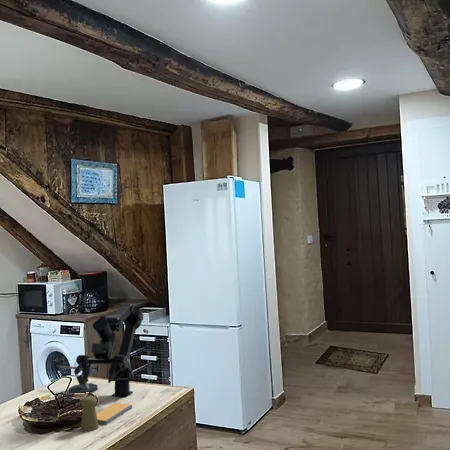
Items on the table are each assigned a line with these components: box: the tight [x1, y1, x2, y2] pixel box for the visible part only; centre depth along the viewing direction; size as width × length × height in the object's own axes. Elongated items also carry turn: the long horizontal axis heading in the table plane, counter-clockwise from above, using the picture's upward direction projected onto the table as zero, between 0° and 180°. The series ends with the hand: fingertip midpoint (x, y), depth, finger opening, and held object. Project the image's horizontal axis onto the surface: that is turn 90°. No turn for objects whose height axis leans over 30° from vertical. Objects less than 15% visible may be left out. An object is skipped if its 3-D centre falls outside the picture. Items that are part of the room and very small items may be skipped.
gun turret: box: [58, 364, 99, 394], centre depth 225 cm, size 13×20×13 cm, turn 71°
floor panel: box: [96, 402, 133, 426], centre depth 194 cm, size 17×8×1 cm, turn 158°
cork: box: [80, 395, 99, 433], centre depth 181 cm, size 6×6×11 cm
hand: (96, 382), depth 189 cm, fingers open, 9 cm apart
